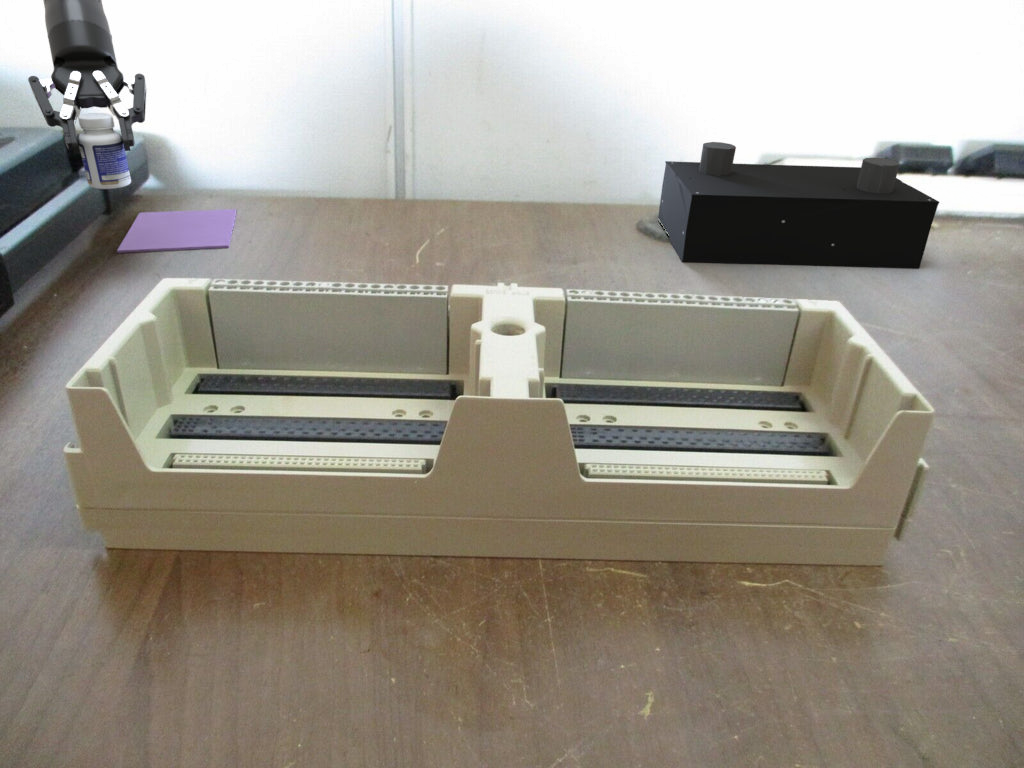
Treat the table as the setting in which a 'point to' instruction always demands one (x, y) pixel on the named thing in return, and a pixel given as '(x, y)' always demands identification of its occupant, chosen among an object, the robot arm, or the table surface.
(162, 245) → the cloth
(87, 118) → the pill bottle
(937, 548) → the table surface
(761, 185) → the control box
